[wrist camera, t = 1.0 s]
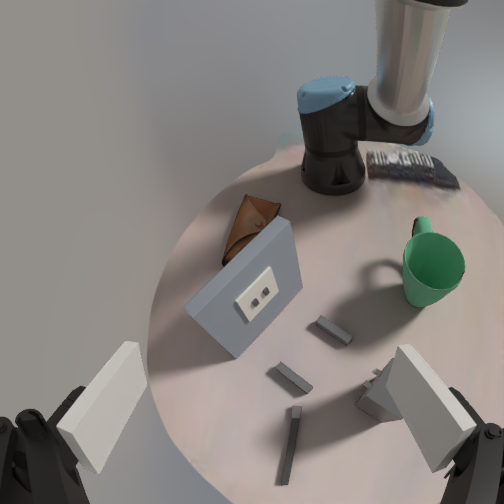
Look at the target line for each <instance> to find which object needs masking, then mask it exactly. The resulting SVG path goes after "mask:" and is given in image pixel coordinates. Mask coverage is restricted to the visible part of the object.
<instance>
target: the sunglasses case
mask: <svg viewBox="0 0 504 504" xmlns="http://www.w3.org/2000/svg"><path fill="white" fill-rule="evenodd" d="M280 206H281V203H272V202H269V201H265V200H262V199H258V198H254V197H251V196H247V194H246V195H245V196H244V199H243V202H242V204H241V206H240V209H239V211H238V214H237V216H236V219H235V222H234V225H233V228H232V230H231V233H230V236H229V239H228V242H227V245H226V249H225V252H224V256H223V259H222V265H223V267H225V266H226V265H227V264H228V263H229V262H230V261H231V260H232V259H233V258H234V257H235V256H236V255H237V254H238V253H239V252H240V251H241V250H242V249H243V248H244V247H246V246H247V245H248V244H249V243H250V242H251V241H252V240H253V239H254V238H255V237H256V236H257V235H258V234H259V233H260V232H261V231H262V230H263V229H264V228H265V227H266V226H267V225H268V224H269V223H271V222H272V221H273V220H274V219H275V218H276V216H277V213H278V210H279V209H280Z"/></svg>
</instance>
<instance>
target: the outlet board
mask: <svg viewBox="0 0 504 504" xmlns="http://www.w3.org/2000/svg"><path fill="white" fill-rule="evenodd" d="M302 288H303V286H302V280H301V275H300V269H299V264H298V258H297V253H296V248H295V243H294V237H293V232H292V227H291V222H290V221H288V220H286V219H284V218H282V217H280V216H277V217H276V218H275V219H274V220H273V221H272V222H271V223H269V224H268V225H267V226H266V227H265V228H264V229H263V230H262V231H261V232H260V233H259V234H258V235H257V236H256V237H255V238H254V239H253V240H252V241H251V242H250V243H249V244H248V245H247V246H246V247H244V248H243V249H242V250H241V251H240V252H239V253H238V254H237V255H236V256H235V257H234V258H233V259H232V260H231V261H230V262H229V263H228V264H227V265H226V266H225V267H224V268H223V269H222V270H221V271H220V272H219V273H218V274H217V275H216V276H215V277H213V278H212V279H211V280H210V281H209V282H208V283H207V284H206V285H205V286H204V287H203V288H202V289H201V290H200V291H199V292H198V293H197V294H196V295H195V296H194V297H193V298H192V299H191V300H190V301H189V302H188V303H187V304H186V305H185V306H184V307H183V308H184V309H185V310H186V311H187V312H188V313H189V314H190V316H191V317H192V318H193V319H194V320H195V321H196V322H198V323H199V324H200V325H201V326H202V327H203V328H204V329H205V330H206V331H207V332H208V333H209V334H210V335H211V336H212V337H213V338H214V339H215V340H216V341H217V342H218V343H220V344H221V345H222V346H223V347H224V348H225V349H226V350H227V351H228V352H229V353H230V354H232V355H233V356H234V357H235V358H236V359H237V358H238V357H239V356H240V355H241V354H242V353H243V352H244V351H245V350H246V349H247V348H248V347H249V346H250V345H251V344H252V343H253V341H254V340H255V339H256V338H257V337H258V336H259V335H260V334H261V333H262V332H263V331H264V330H265V329H266V328H267V327H268V325H269V324H270V323H271V322H272V321H273V320H274V319H275V318H276V317H277V316H278V315H279V313H280V312H281V311H282V310H283V309H284V308H285V307H286V306H287V305H288V303H289V302H290V301H291V300H292V299H293V298H294V297H295V296H296V294H297V293H298V292H299V291H300V290H301V289H302ZM316 325H317V326H319V327H320V328H322V329H323V330H325V331H326V332H328V333H329V334H330V335H332V336H333V337H335V338H336V339H338V340H339V341H341V342H342V343H344V344H345V345H347V346H348V344H349V343H350V342H351V340H352V337H353V336H351V335H350V334H348V333H347V332H345V331H344V330H342V329H341V328H339V327H338V326H336V325H335V324H333V323H332V322H330V321H329V320H327V319H326V318H324V317H323V316H320V317H319V318H318V319H317V321H316ZM275 368H276V369H277V370H278V371H279V372H280V373H281V374H283V375H284V376H285V377H286V378H288V379H289V380H290V381H291V382H293V383H294V384H295V385H297V386H298V387H299V388H300V389H302V390H303V391H304V392H306V393H307V394H308V393H309V392H310V391H311V390H312V389H313V386H312V385H310V384H309V383H308V382H306V381H305V380H304V379H303V378H301V377H300V376H299V375H297V374H296V373H295V372H294V371H292V370H291V369H290V368H288V367H287V366H286V365H285V364H283V363H282V362H280V363H279V364H278V365H277V366H276V367H275Z"/></svg>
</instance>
